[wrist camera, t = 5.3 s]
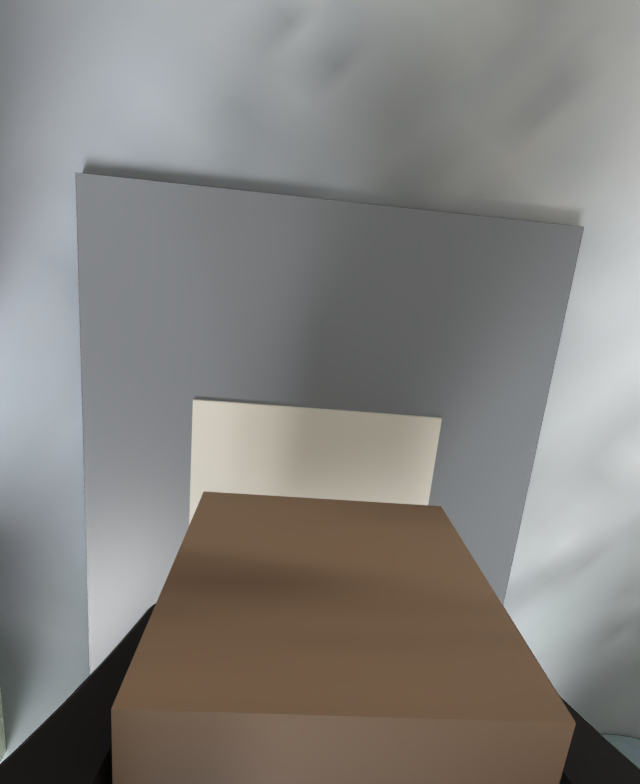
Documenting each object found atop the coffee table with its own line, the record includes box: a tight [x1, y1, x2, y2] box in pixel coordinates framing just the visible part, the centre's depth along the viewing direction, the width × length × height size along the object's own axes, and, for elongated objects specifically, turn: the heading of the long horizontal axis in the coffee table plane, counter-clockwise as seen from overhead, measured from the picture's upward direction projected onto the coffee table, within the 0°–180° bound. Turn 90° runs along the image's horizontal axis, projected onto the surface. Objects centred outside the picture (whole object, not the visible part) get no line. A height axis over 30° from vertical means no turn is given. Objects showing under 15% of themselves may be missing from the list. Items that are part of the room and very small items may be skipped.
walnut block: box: [111, 491, 576, 784], centre depth 8 cm, size 5×5×5 cm
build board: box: [76, 173, 584, 674], centre depth 14 cm, size 18×13×1 cm
